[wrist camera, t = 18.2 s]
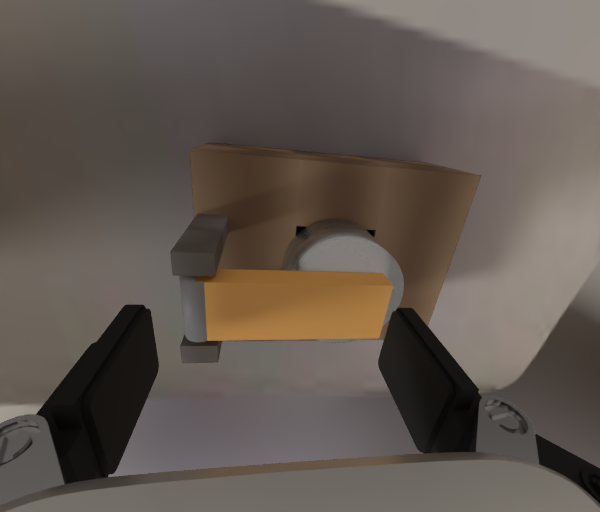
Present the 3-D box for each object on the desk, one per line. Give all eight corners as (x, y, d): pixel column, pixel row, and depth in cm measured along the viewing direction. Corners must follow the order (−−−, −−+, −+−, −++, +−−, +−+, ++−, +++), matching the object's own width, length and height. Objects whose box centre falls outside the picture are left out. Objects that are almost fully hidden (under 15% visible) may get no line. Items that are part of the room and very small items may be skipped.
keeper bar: (188, 322, 14) (181, 342, 12) (184, 266, 12) (175, 283, 11) (369, 321, 15) (380, 339, 14) (382, 271, 14) (394, 287, 12)
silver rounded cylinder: (275, 266, 23) (283, 343, 15) (280, 193, 21) (293, 239, 12) (345, 268, 24) (388, 342, 16) (358, 199, 21) (417, 244, 13)
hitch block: (215, 292, 24) (182, 410, 14) (209, 142, 19) (154, 163, 9) (390, 295, 26) (466, 397, 17) (426, 162, 22) (565, 196, 12)
